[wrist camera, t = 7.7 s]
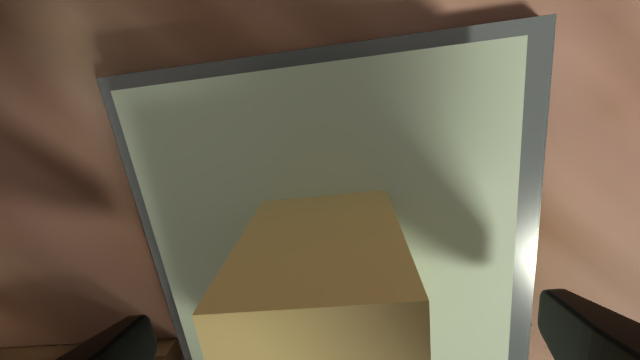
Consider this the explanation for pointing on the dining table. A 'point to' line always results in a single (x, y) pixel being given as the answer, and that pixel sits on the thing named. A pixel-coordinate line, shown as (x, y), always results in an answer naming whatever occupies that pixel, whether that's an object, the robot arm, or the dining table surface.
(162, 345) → the box
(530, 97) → the coaster
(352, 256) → the lid
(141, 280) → the dining table surface
